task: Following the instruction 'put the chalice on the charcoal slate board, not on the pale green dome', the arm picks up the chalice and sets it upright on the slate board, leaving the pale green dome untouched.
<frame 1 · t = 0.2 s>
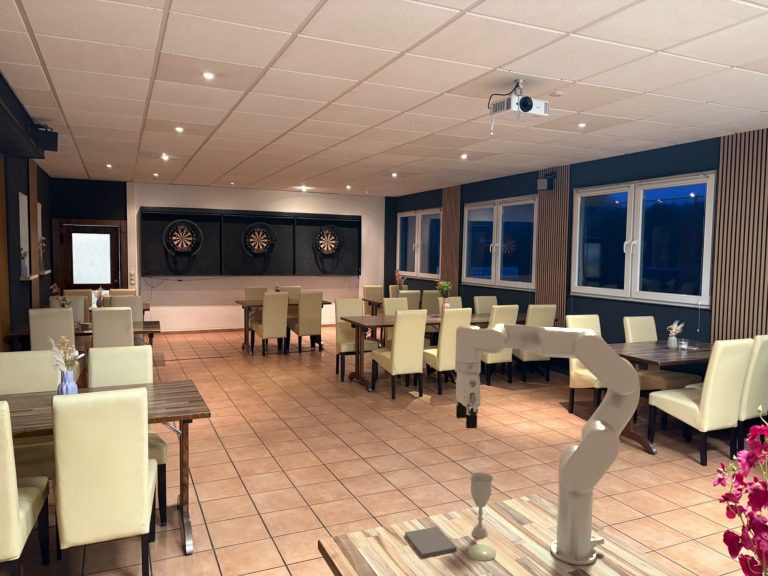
hand: (466, 422, 171), 36 cm above the table, tool pointing down, fingers open, 9 cm apart
slate board: (430, 542, 170), on the table
chalice: (479, 534, 176), on the table
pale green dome: (482, 554, 165), on the table
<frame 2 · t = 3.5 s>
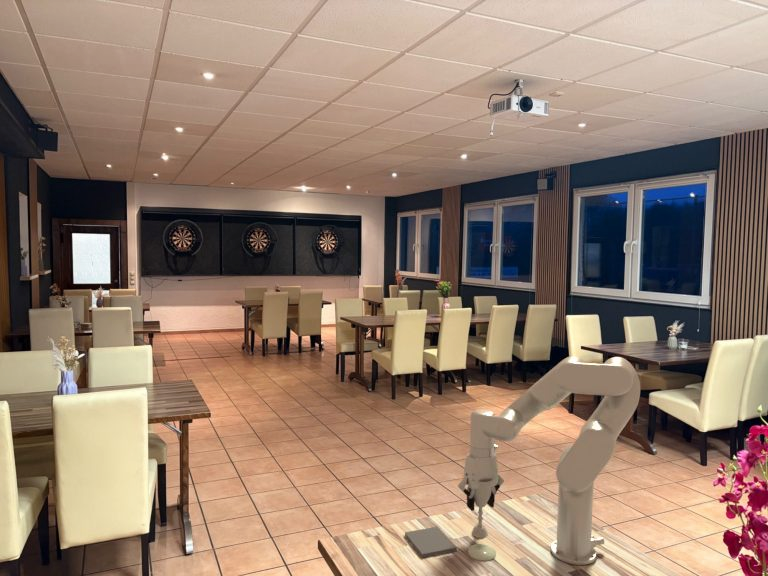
hand: (480, 506, 176), 9 cm above the table, tool pointing down, fingers closed on chalice, 6 cm apart
chalice: (479, 534, 176), on the table, touching gripper
everything else where it was.
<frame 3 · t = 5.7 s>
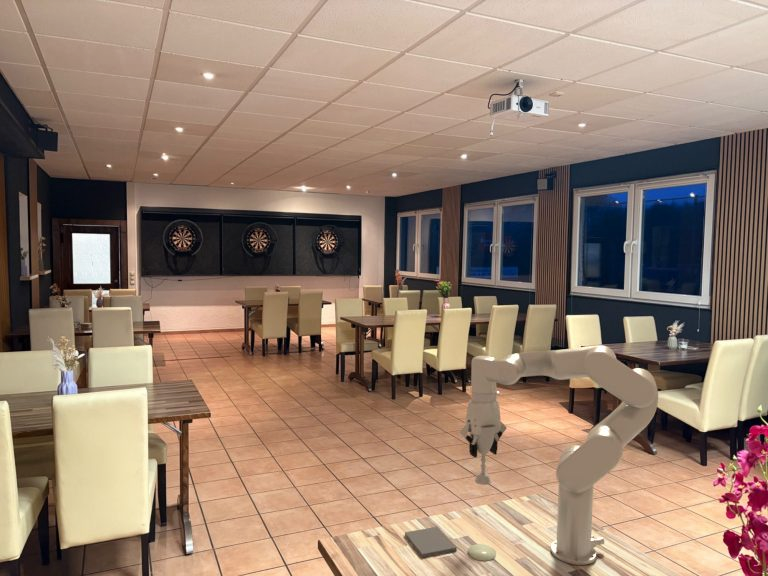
hand: (483, 453, 174), 25 cm above the table, tool pointing down, fingers closed on chalice, 6 cm apart
chalice: (483, 482, 175), point 17 cm above the table, touching gripper
everything else where it was.
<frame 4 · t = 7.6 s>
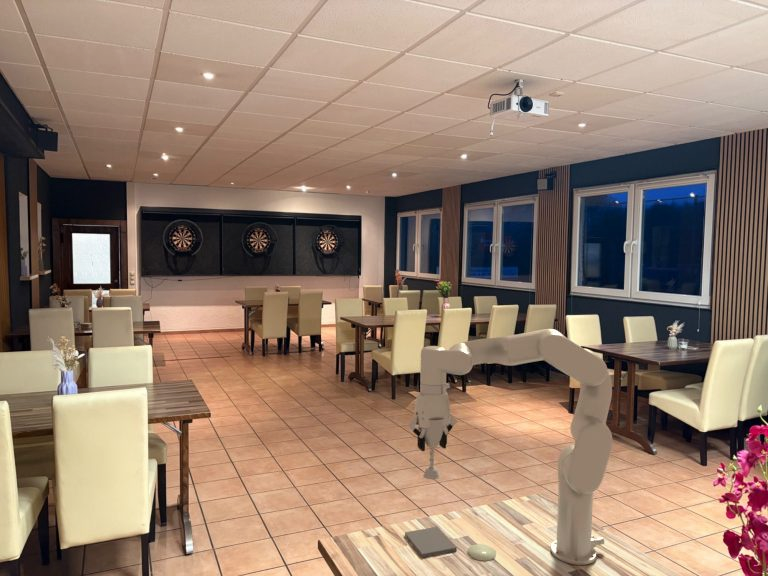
hand: (432, 447, 168), 29 cm above the table, tool pointing down, fingers closed on chalice, 6 cm apart
chalice: (431, 476, 169), point 20 cm above the table, touching gripper
everything else where it was.
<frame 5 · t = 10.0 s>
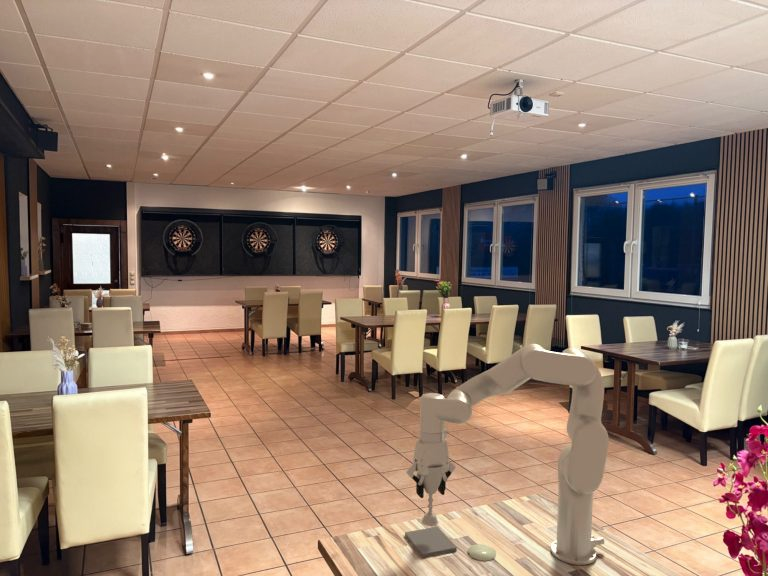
hand: (430, 494, 169), 15 cm above the table, tool pointing down, fingers closed on chalice, 6 cm apart
chalice: (430, 522, 170), point 6 cm above the table, touching gripper
everything else where it was.
when the fingers open (10 cm above the table, at t = 12.0 s): chalice stays where it is, resting on slate board.
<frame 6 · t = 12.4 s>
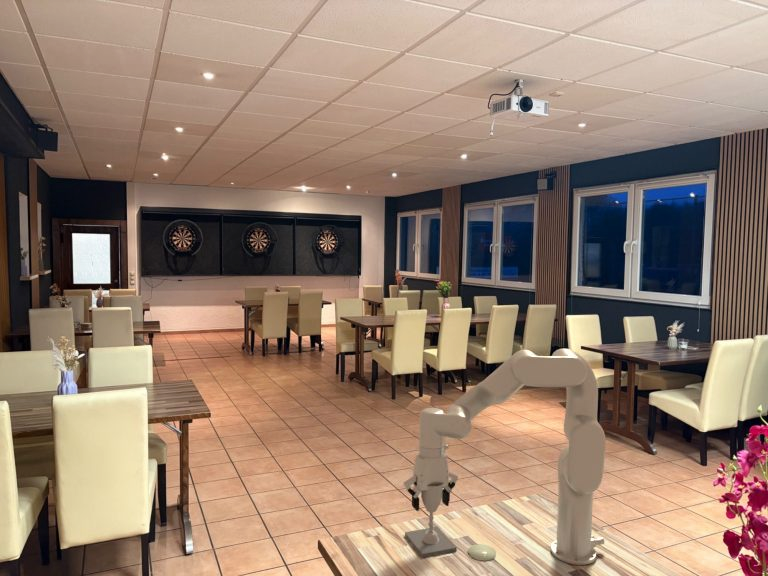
hand: (430, 506, 170), 11 cm above the table, tool pointing down, fingers open, 9 cm apart
chalice: (430, 540, 170), point 1 cm above the table, touching slate board
everything else where it was.
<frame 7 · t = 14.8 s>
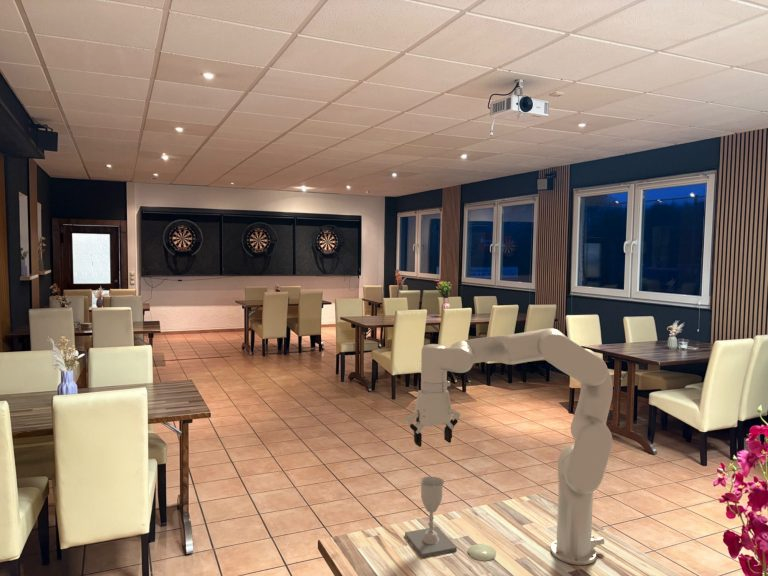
hand: (433, 443, 169), 30 cm above the table, tool pointing down, fingers open, 9 cm apart
nothing on the table moved.
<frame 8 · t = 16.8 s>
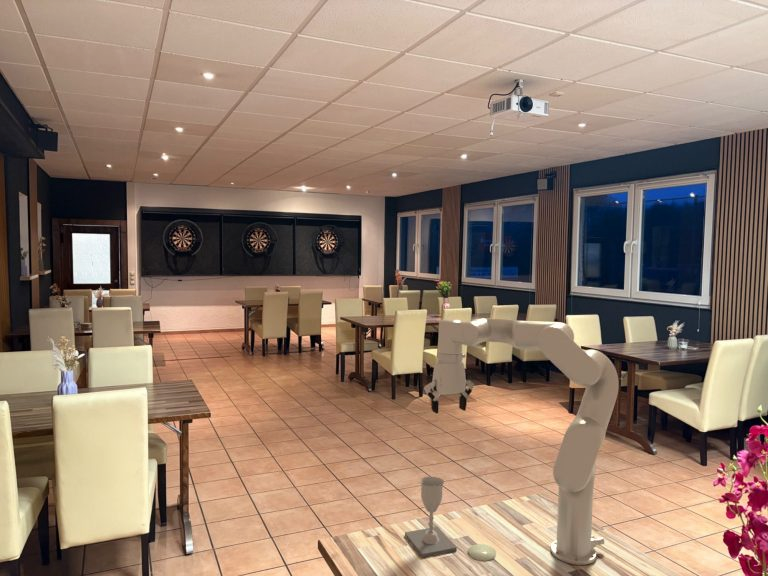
hand: (448, 410, 182), 36 cm above the table, tool pointing down, fingers open, 9 cm apart
nothing on the table moved.
at the end: chalice inside the target area on the slate board (0.2 cm from its centre), point 0.8 cm above the slate board's base; chalice tilted 0°; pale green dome moved 0.3 cm from its start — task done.
